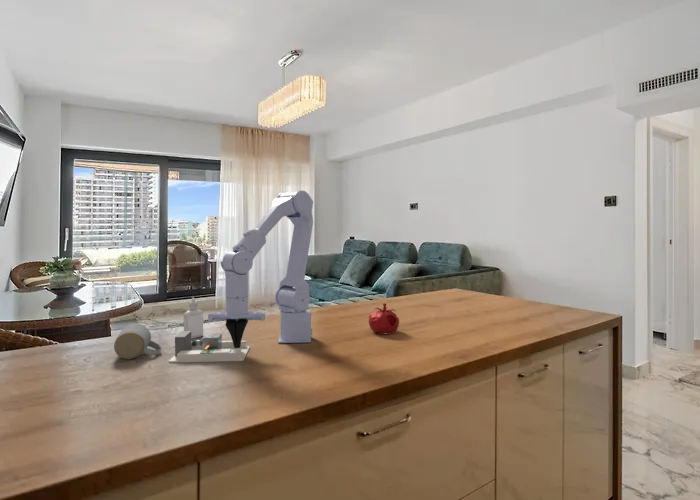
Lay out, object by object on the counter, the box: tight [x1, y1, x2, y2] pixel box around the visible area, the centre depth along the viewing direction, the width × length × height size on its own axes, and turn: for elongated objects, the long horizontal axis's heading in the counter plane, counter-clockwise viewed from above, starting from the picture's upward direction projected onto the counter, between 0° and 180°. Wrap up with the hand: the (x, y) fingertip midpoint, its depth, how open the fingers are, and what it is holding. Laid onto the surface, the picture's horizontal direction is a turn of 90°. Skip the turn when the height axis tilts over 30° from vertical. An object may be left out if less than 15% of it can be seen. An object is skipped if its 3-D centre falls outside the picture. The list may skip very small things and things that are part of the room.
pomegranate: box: [368, 302, 400, 334], centre depth 131 cm, size 10×10×9 cm
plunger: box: [192, 332, 223, 350], centre depth 105 cm, size 7×9×4 cm
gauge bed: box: [168, 330, 251, 364], centre depth 106 cm, size 18×11×5 cm, turn 96°
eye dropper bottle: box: [183, 297, 204, 340], centre depth 123 cm, size 4×6×12 cm
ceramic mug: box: [113, 323, 163, 360], centre depth 105 cm, size 11×8×8 cm
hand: (237, 347), depth 108 cm, fingers closed
